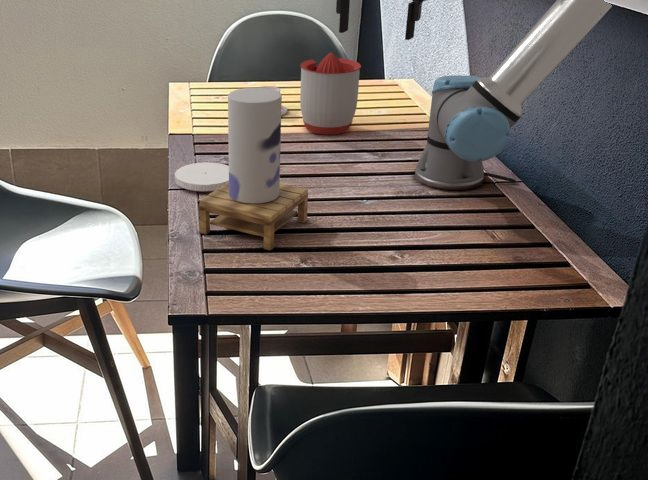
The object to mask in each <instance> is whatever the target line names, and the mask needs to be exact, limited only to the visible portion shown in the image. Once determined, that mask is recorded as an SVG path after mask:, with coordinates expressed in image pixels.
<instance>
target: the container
mask: <svg viewBox="0 0 648 480" xmlns="http://www.w3.org/2000/svg"><path fill="white" fill-rule="evenodd" d="M282 97H283V95H282V93H281V92H280V93H279V92H278V91H275V90H272V89H266V88H257V87H243V88H237V89H235V90H232V91H230V92H229V93H228V94H227V124H228V125H227V129H228V130H227V131H228V132H227V133H228V136H227V137H228V139H227V140H228V141H227V143H228V166H229V195H230V197H231V198H232V199H234V200H236V201H239V202H243V203H251V204H257V203H266V202H270V201H272V200H275V199H276V198H277V197H278V196H279V189H280V184H281V144H282V143H281V138H282V137H281V136H282V115H281V106H282V103H283V101H282V99H283V98H282Z"/></svg>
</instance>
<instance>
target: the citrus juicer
mask: <svg viewBox="0 0 648 480" xmlns="http://www.w3.org/2000/svg"><path fill="white" fill-rule="evenodd" d="M361 68H362V65H361V64H360V63H359V62H358V61H356V60H351V59H347V58H340V57H337V56H336V55H335V54H334V53H333V52H329V53H328V54H326V56H325V57H324V58H323V59H322V60H321V61H320V62H319V63H318V66H317V62H316V61H315V60H314V59H306V60H304V61H302V62H301V63H300V93H299V94H300V96H299V99H300V102H299V103H300V104H299V105H300V112H301V117H302V122H303V124H304V126H305V129H306V130H307V131H309V132H311V133H314V134H316V135H338V134H344V133H346V132H347V131H349V129H350V128H351V126H352V124H353V121H354V117H355V114H356V110H357V105H358V98H359V85H360V71H361Z"/></svg>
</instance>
